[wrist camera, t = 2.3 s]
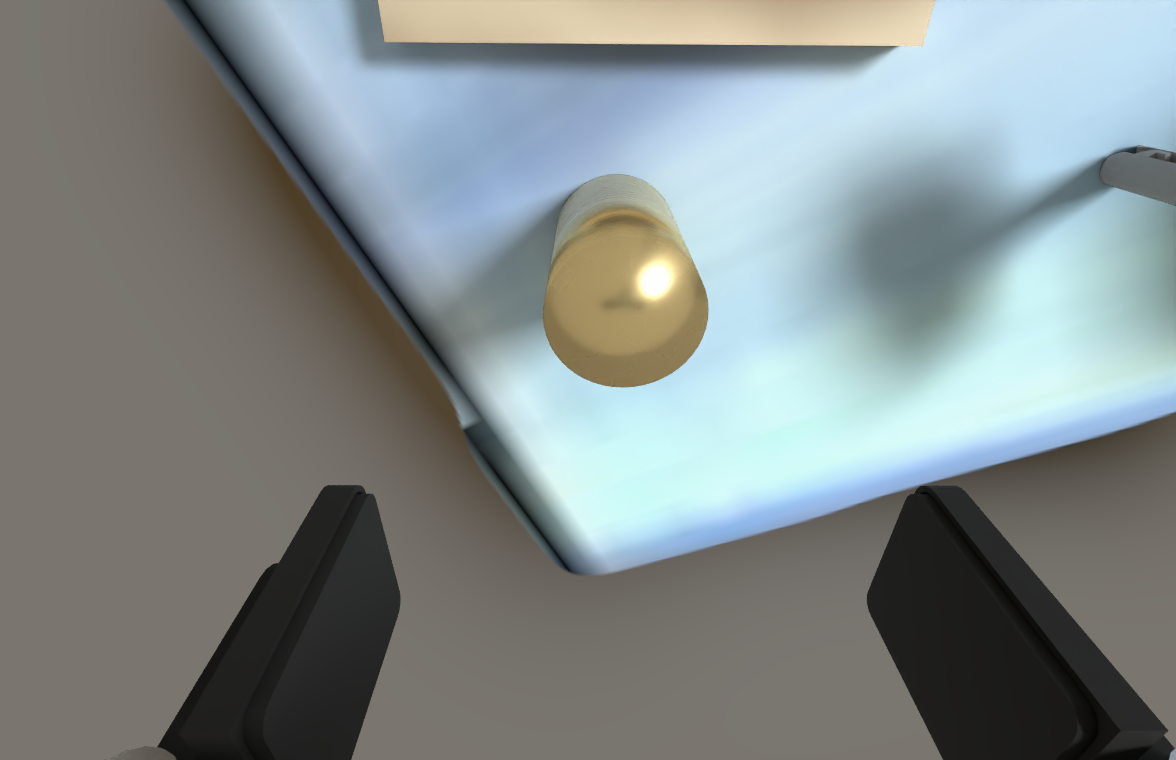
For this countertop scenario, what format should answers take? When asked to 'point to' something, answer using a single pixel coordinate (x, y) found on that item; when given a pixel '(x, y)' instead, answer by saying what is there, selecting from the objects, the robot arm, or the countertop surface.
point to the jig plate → (659, 21)
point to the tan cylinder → (622, 286)
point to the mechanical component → (1143, 173)
